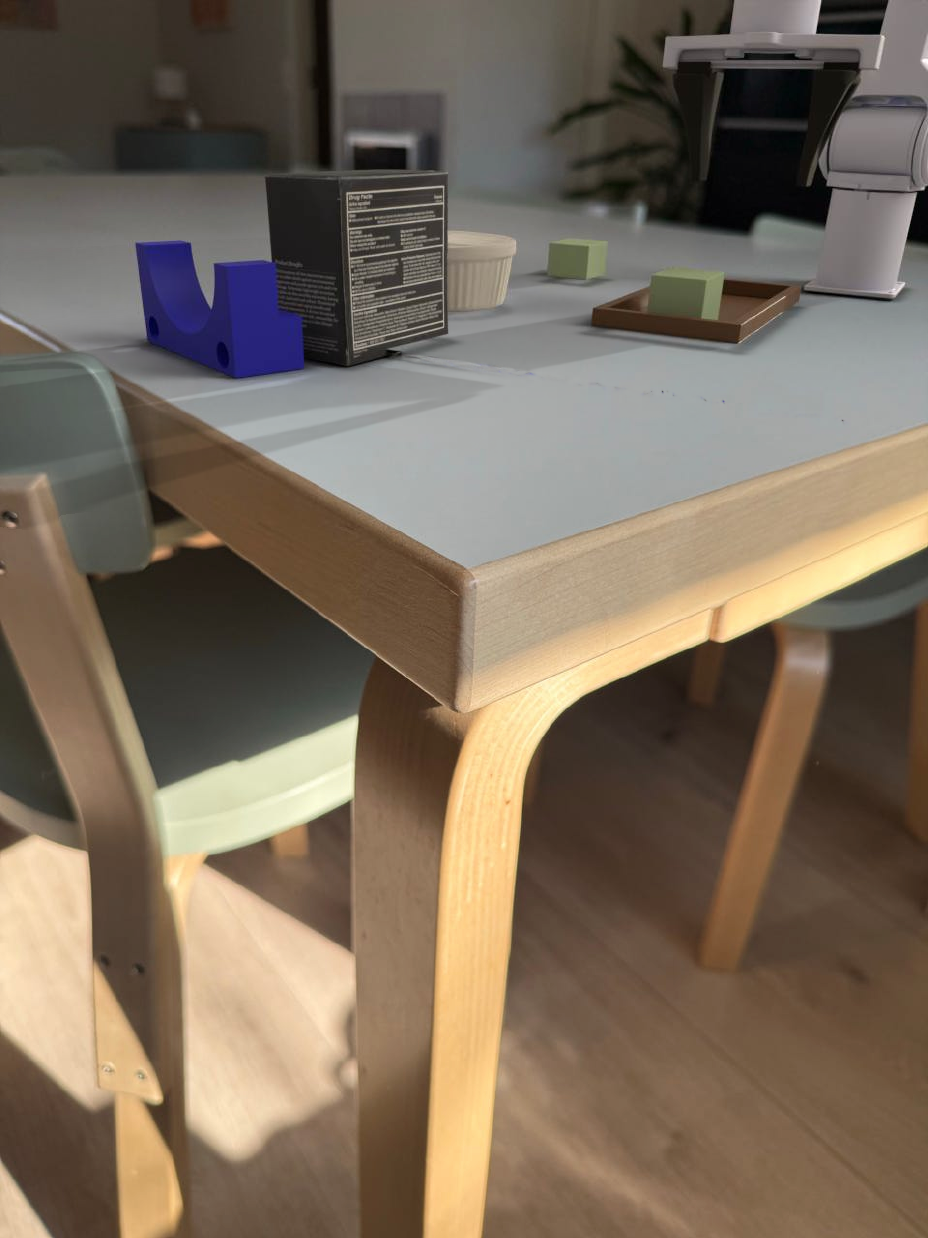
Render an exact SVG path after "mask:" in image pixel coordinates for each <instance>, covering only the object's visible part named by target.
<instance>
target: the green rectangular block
mask: <svg viewBox="0 0 928 1238" xmlns="http://www.w3.org/2000/svg"><path fill="white" fill-rule="evenodd" d="M725 273H726V272H724V271H720V270H719V271H718V270H706V269H694V268H686V267H675V266H673V267H670V268H667V269H664V270H661V271H658V272H656V273H652V274H650V275H651V276H650V282H649V283H650V284H649V286H650V291H649V300H648V308H647V312H650V313H659V314H668V315H677V316H685V317H694V318H703V319H712V320H718V315H719V308H720V301H721V295H722V288H723V281H724V278H725Z"/></svg>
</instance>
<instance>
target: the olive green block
mask: <svg viewBox="0 0 928 1238" xmlns="http://www.w3.org/2000/svg"><path fill="white" fill-rule="evenodd" d="M608 245H609V241H607V240H596V239H585V238H584V239H582V238H572V237H571V238H570V237H568V238H564V239H560V240H556V241H550V242H549V243H548V258H547V259H548V260H547V271H546V272H547V273H546V275H547V277H554V278H564V279H575V280H576V279H577V280H583V281H584V280H585V281H587V280H590V279H593V278H596V277H600V276H601V277H605V276H606V265H607V256H608Z"/></svg>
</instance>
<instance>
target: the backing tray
mask: <svg viewBox="0 0 928 1238" xmlns="http://www.w3.org/2000/svg"><path fill="white" fill-rule="evenodd" d="M649 291H650V285H648V286H646V287H644V288H641V289H638V290H635V291H633V292H630V293H628V294H626V295H623V296H621V297H618V298H616V299H613V300H610V301H608V302H605V303H603V304H600V305H597V306H594V307H592V313H591V323H590V324H591V325H590V326H591V327H595V328H596V327H597V328H604V329H605V328H606V329H613V330H622V331H630V332H638V333H645V334H655V335H663V336H670V337H677V338H679V337H680V338H686V339H687V338H688V339H693V340H695V339H696V340H704V341H712V342H720V343H726V344H727V343H728V344H735V345H739V344H741V343H742V342H744V341H745V340H746V339H747V338H749V337H751V336H752V335H754V334H755V333H756V332H757V331H760V329H761V328H763V327H764V326H766V325H767V324H769V323H770V322H772V321H773V320H774V319H776V318H778V317H779V316H780V315H781V314H783V313H784V312H786V311H787V310H788V309H790V308H791V307H793V306H795V305H796V304H797V303H799V302H800V298H801V293H802V285H798V284H790V283H789V284H788V283H777V282H767V281H758V280H757V281H756V280H747V279H735V278H727V277H726V278H725V277H724V281H723V288H722V295H721V301H720V308H719V315H718V320H712V319H703V318H694V317H685V316H677V315H668V314H659V313H650V312H647V308H648V300H649Z"/></svg>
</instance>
